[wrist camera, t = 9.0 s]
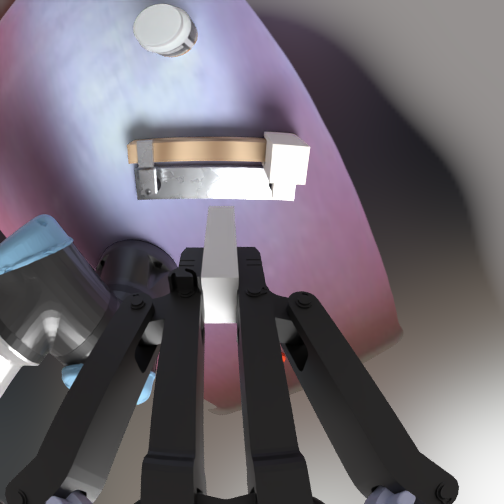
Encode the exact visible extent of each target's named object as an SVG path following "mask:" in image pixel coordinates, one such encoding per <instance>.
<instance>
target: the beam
mask: <svg viewBox="0 0 504 504" xmlns="http://www.w3.org/2000/svg"><path fill="white" fill-rule="evenodd" d="M140 140H153V145H154V162H169V161H254V162H265V157H266V144H267V140H266V139H265V138H254V137H172V138H154V139H140ZM140 140H134V141H132V142H131V143H129V144H128V145H127V149H128V161H129V164H132V163H138V156H137V141H140Z"/></svg>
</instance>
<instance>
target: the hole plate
mask: <svg viewBox="0 0 504 504" xmlns="http://www.w3.org/2000/svg"><path fill="white" fill-rule="evenodd" d="M143 168H156V179H157V193H156V194H150V195H147V194H146V195H141V188H140V178H139V170H140V169H141V168H138V167H137V168H136V169H135V170H134V171H135V181H136V189H137V198H138V200H147V199H267V200H272V197H271V190H272V183H269V181H268V178H267V175H266V173H265V170H264V168H263V166H235V165H187V166H156V167H143ZM295 185H296V184H290V190H289V198H288V200H294V192H295Z"/></svg>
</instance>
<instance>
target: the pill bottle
mask: <svg viewBox="0 0 504 504" xmlns="http://www.w3.org/2000/svg"><path fill="white" fill-rule="evenodd" d="M133 32H134V35H135V37H136V39H137V40H138V42H139V43H140V45H141V46H142V47H143V48H144V49H146V50H147V51H150V52H154V53H157V54H160V55H163V56H166V57H177V56H181V55H183V54H185V53H187V52H188V51H189V50H191V49H192V47H193V46H194V45H195V43H196V41H197V36H198V33H197V29H196V27H195V25H194V23H193V22H192V20H191V19H190V17H189V15H188V14H187V13H186V12H185V11H184V10H182V9H180V8H177V7H173V6H171V5H168V4H155V5H152V6H150V7H148V8H146V9H144V10H143V11H142V12H141V13H140V14H139V15H138V16H137V18H136V20H135V22H134V26H133Z"/></svg>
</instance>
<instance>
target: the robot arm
mask: <svg viewBox="0 0 504 504" xmlns="http://www.w3.org/2000/svg"><path fill="white" fill-rule="evenodd" d="M204 322H205V323H237V342H238V357H239V373H240V387H241V402H242V415H243V428H244V441H245V452H246V465H247V485H248V494H247V495H243V496H239V497H235V498H231V499H220V498H215V497H211V496H207V495H206V480H205V473H204V441H203V440H204V439H203V438H204V434H203V392H204V344H205V328H204ZM280 344H281V346H282V348H283V350H284V352H285V354H286V356H287V358H288V360H289V362H290V364H291V366H292V368H293V370H294V372H295V374H296V376H297V378H298V380H299V382H300V384H301V386H302V388H303V389H304V391H305V393H306V395H307V397H308V399H309V401H310V403H311V405H312V406H313V409H314V411H315V413H316V414H317V416H318V418H319V420H320V422H321V424H322V426H323V428H324V430H325V432H326V434H327V435H328V438H329V439H330V441H331V443H332V445H333V447H334V449H335V451H336V453H337V454H338V456H339V458H340V460H341V462H342V464H343V466H344V468H345V469H346V471H347V473H348V475H349V477H350V478H351V480H352V482H353V483H354V485H355V486H356V487H357V489H358V490H359V491H360V492H361V493H362V494H363V495H364V496H365V497H366V498H367V500H366V501H365V503H364V504H452V503H453V502H454V501H455V500H456V497H457V495H458V490H459V486H458V482H457V480H456V479H455V478H454V477H453V476H452V475H450V474H449V473H448V472H446V471H444V470H443V469H442V468H441V467H439V466H438V465H436V464H435V463H434V462H432V461H431V460H430V459H428V458H427V457H426V456H424V455H423V454H422V453H420V452H419V451H418V449H417V447H416V446H415V444H414V442H413V441H412V439H411V438H410V436H409V435H408V433H407V431H406V430H405V428H404V427H403V425H402V423H401V422H400V420H399V419H398V417H397V416H396V414H395V413H394V411H393V409H392V408H391V406H390V405H389V403H388V402H387V401H386V399H385V397H384V396H383V394H382V393H381V391H380V390H379V388H378V387H377V385H376V384H375V382H374V381H373V379H372V377H371V376H370V375H369V373H368V371H367V370H366V369H365V367H364V366H363V364H362V363H361V361H360V360H359V358H358V357H357V355H356V354H355V352H354V351H353V349H352V348H351V346H350V345H349V343H348V342H347V340H346V339H345V338H344V336H343V335H342V333H341V332H340V330H339V329H338V327H337V326H336V324H335V323H334V322H333V320H332V319H331V317H330V316H329V314H328V313H327V312H326V310H325V309H324V307H323V306H322V304H321V303H320V302H319V300H318V299H317V298H316V297H315V296H314V295H312V294H310V293H308V292H303V291H301V292H295V293H293V294H291V295H290V296H289V298H287V297H282V296H278V295H276V294H274V293H272V292H271V291H269V288H268V287H267V286H266V283H265V277H264V272H263V267H262V261H261V256H260V252H259V251H258V250H257V249H256V248H255V247H237V244H236V230H235V214H234V206H209V208H208V216H207V225H206V233H205V242H204V248H186V249H185V250H184V251H183V252H182V253H181V257H180V262H179V267H177V266H176V264H175V262H174V261H173V260H172V259H171V258H170V256H169V255H167V254H166V253H165V252H164V251H163V250H161V249H160V248H158V247H156V246H154V245H152V244H149V243H146V242H143V241H138V240H124V241H120V242H117V243H115V244H113V245H111V246H110V247H108V248H107V249H106V250H105V252H104V253H103V255H102V256H101V258H100V260H99V262H98V264H97V268H96V272H95V271H94V269H93V268H92V267H91V266H90V264H89V263H88V262H87V261H86V259H85V258H84V257H83V256H82V254H81V253H80V252H79V250H78V249H77V248H76V246H75V245H74V244H73V239H72V238H71V237H69V236H68V235H67V234H66V233H65V231H64V230H63V229H62V228H61V226H60V225H59V224H58V223H57V221H56V220H55V219H54V218H53V217H52V216H50V215H46V214H42V215H38V216H37V217H35V218H33V219H32V220H30V221H29V222H28V223H26V224H25V225H23V226H22V227H21V228H19V229H18V230H17V231H16V232H14V233H13V234H12V235H10V236H9V237H8V238H7V239H5V240H4V241H3V242H2V243H1V244H0V398H1V396H2V394H3V393H4V391H5V390H6V388H7V387H8V385H9V384H10V382H11V381H12V379H13V378H14V376H15V375H16V373H17V372H18V370H19V369H20V368H21V366H23V365H32V366H37V365H39V364H40V363H41V361H42V360H43V359H44V357H45V356H46V355H47V354H48V353H50V354H52V355H53V356H54V357H55V358H57V359H58V360H59V361H60V362H61V363H62V364H63V365H64V368H63V369H62V380H63V382H64V383H65V385H66V386H67V387H68V388H69V391H68V393H67V395H66V397H65V399H64V400H63V402H62V404H61V406H60V408H59V410H58V412H57V414H56V416H55V418H54V420H53V422H52V424H51V426H50V428H49V430H48V432H47V434H46V436H45V438H44V441H43V443H42V445H41V447H40V449H39V452H38V454H37V456H36V457H35V458H34V459H33V460H32V461H31V462H30V463H29V464H28V465H27V466H26V467H25V468H24V469H23V470H22V471H21V472H20V473H19V474H18V475H17V476H16V477H15V478H14V479H13V480H12V481H11V482H10V483H9V484H8V485H7V487H6V492H5V496H6V500H7V502H8V504H93V502H94V501H95V500H96V499H97V497H98V495H99V494H100V492H101V491H102V489H103V486H104V484H105V482H106V480H107V477H108V474H109V472H110V468H111V466H112V464H113V461H114V458H115V456H116V453H117V451H118V448H119V446H120V443H121V441H122V438H123V435H124V433H125V431H126V428H127V426H128V423H129V420H130V418H131V416H132V414H133V411H134V409H135V406H136V405H138V404H141V403H143V402H144V401H146V400H147V399H148V398H149V396H150V393H151V389H152V384H153V380H154V379H155V371H156V364H157V357H158V354H159V360H158V367H157V374H156V382H155V390H154V398H153V407H152V417H151V427H150V428H151V429H150V439H149V450H148V454H147V455H146V456H145V457H144V460H143V463H142V475H141V499H140V500H138V501H137V502H136V503H134V504H325V503H323V502H322V501H320V500H318V499H317V498H315V497H312V492H311V487H310V481H309V475H308V470H307V465H306V461H305V459H304V456H303V455H302V454H301V453H300V451H299V447H298V442H297V437H296V431H295V425H294V419H293V414H292V408H291V402H290V397H289V391H288V386H287V380H286V375H285V369H284V364H283V358H282V353H281V347H280ZM159 352H160V353H159ZM0 504H4V503H3V502H2V501H1V500H0Z"/></svg>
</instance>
